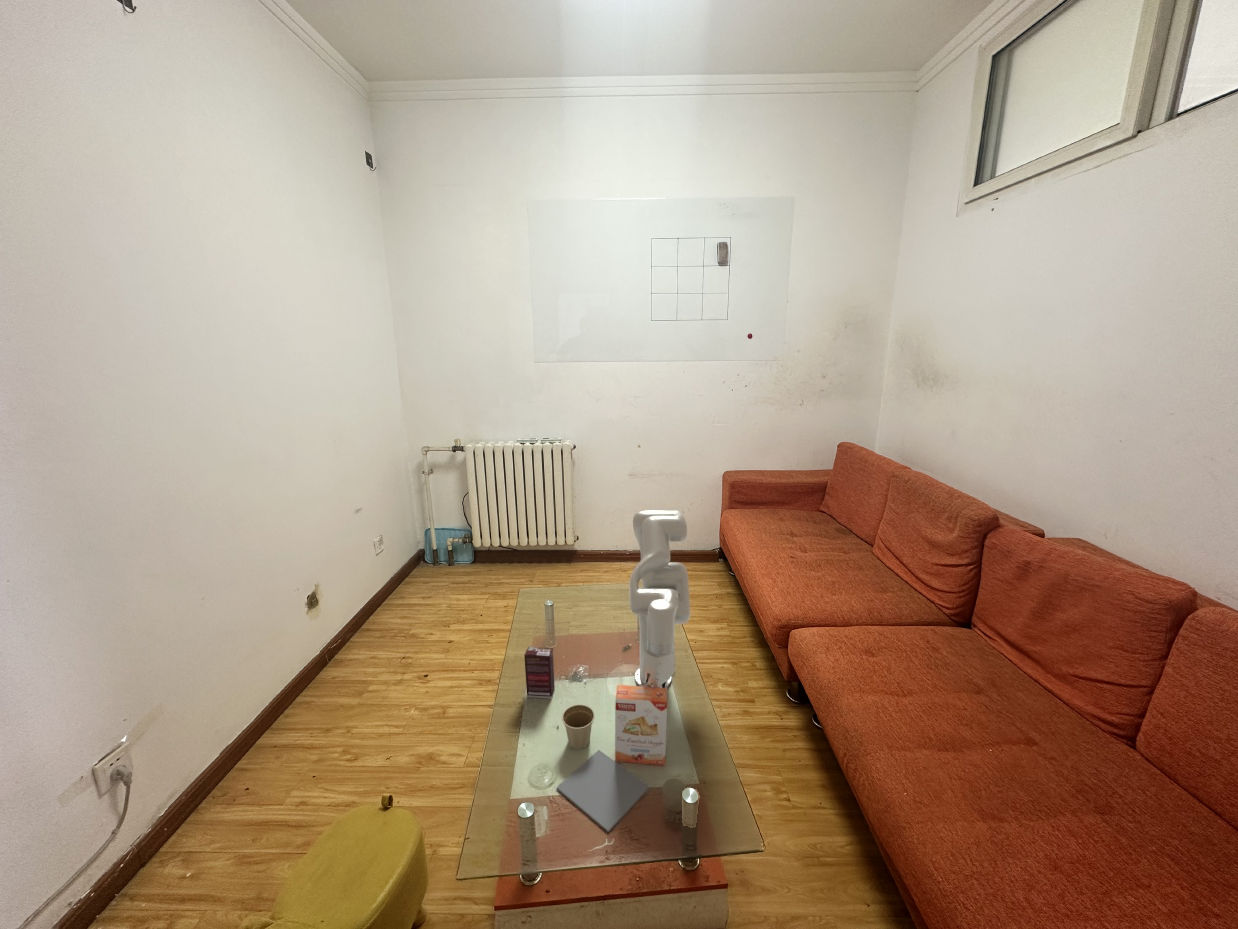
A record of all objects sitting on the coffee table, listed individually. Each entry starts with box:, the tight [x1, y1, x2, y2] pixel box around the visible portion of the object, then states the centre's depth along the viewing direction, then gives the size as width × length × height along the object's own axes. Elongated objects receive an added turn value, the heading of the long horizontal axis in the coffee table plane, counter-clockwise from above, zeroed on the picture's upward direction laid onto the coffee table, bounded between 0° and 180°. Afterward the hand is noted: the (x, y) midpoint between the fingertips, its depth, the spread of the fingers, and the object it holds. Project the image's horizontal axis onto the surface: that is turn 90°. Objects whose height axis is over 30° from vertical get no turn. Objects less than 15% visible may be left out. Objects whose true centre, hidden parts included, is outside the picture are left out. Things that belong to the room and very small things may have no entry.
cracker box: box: [614, 684, 668, 766], centre depth 134 cm, size 14×6×21 cm, turn 85°
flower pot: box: [561, 704, 596, 750], centre depth 141 cm, size 9×9×9 cm
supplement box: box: [523, 646, 556, 699], centre depth 160 cm, size 9×5×16 cm, turn 85°
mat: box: [556, 749, 650, 833], centre depth 127 cm, size 16×18×1 cm
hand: (659, 701), depth 140 cm, fingers closed
